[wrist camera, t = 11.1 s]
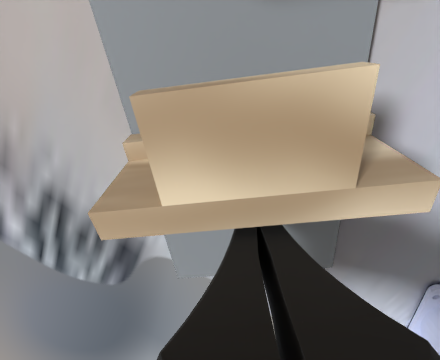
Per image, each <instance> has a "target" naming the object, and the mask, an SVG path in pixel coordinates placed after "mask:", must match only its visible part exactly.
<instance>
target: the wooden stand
mask: <svg viewBox="0 0 440 360" xmlns="http://www.w3.org/2000/svg"><path fill="white" fill-rule="evenodd" d="M379 67H380V64H375V63H368V62H357V63H349V64H341V65H333V66H326V67H318V68H310V69H303V70H295V71H287V72H279V73H272V74H264V75H256V76H249V77H241V78H233V79H225V80H218V81H210V82H202V83H195V84H187V85H179V86H172V87H164V88H156V89H148V90H141V91H138V92H136V93H134V94H132V95H131V96H129V98H130V101H131V105H132V108H133V111H134V114H135V118H136V121H137V124H138V128H139V131H140V134H131V135H130V136H129V137H128V138H127V139H126V140H125V141H124V142H123V143H122V144H123V147H124V150H125V153H126V155H127V158H128V161H129V162H128V163H127V164H126V165H125V167H124V168H123V169H122V170H121V172H120V173H119V174H118V176H117V177H116V178H115V179H114V181H113V182H112V183H111V184H110V186H109V187H108V188H107V189H106V191H105V192H104V193H103V195H102V196H101V197H100V198H99V200H98V201H97V202H96V203H95V205H94V206H93V207H92V209H91V210H90V211H89V212H88V215H89V217H90V219H91V221H92V223H93V225H94V227H95V229H96V231H97V233H98V234H99V236H100V238H101V240H109V239H120V238H132V237H143V236H155V235H167V234H178V233H190V232H202V231H213V230H225V229H236V228H248V227H260V226H271V225H283V224H295V223H306V222H318V221H330V220H341V219H353V218H364V217H376V216H388V215H399V214H411V213H423V212H430V210H431V208H432V205H433V203H434V200H435V198H436V196H437V193H438V191H439V188H440V178H439V177H438V176H436V175H434V174H433V173H431V172H430V171H428V170H426V169H425V168H423V167H422V166H420V165H418V164H417V163H415V162H414V161H412V160H410V159H409V158H407V157H406V156H404V155H402V154H401V153H399V152H398V151H396V150H394V149H393V148H391V147H390V146H388V145H386V144H385V143H383V142H382V141H380V140H378V139H377V138H375V137H374V136H372V135H371V134H372V129H373V124H374V119H375V114H373V113H371V107H372V102H373V97H374V92H375V87H376V82H377V77H378V72H379Z"/></svg>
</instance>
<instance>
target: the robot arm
mask: <svg viewBox="0 0 440 360" xmlns="http://www.w3.org/2000/svg"><path fill="white" fill-rule="evenodd" d="M262 277H263V278H262ZM263 281H264V283H263ZM264 285H265V288H264ZM265 289H266V292H265ZM266 293H267V297H268V301H269V305H270V309H271V314H272V319H273V323H274V329H273V325H272V321H271V316H270V311H269V307H268V302H267V297H266ZM274 331H275V334H274ZM275 337H276V338H275ZM157 360H440V284H436V285H432V286H430V287H429V288H428V289H427V291H426V293H425V295H424V297H423V299H422V301H421V303H420V305H419V307H418V309H417V311H416V313H415V315H414V317H413V319H412V321H411V323H410V325H409V327H408V328H406V327H405V326H403V325H401V324H400V323H398V322H396V321H395V320H393V319H391V318H390V317H388V316H387V315H385V314H384V313H382V312H381V311H379V310H378V309H376V308H375V307H373V306H372V305H370V304H369V303H367V302H366V301H364V300H363V299H362V298H360V297H359V296H358V295H356V294H355V293H354V292H352V291H351V290H350V289H349V288H347V287H346V286H345V285H343V284H342V283H341V282H339V281H338V280H337V279H336V278H334V277H333V276H332V275H331V274H330V273H328V272H327V271H326V270H325V269H324V268H323V267H322V266H320V265H319V264H318V263H317V262H316V261H315V260H314V259H313V258H312V257H311V256H310V255H309V254H308V253H307V252H306V251H305V250H304V249H303V248H302V247H301V246H300V245H299V244H298V243H297V242H296V241H295V240H294V238H293V237H292V236H291V235H290V234H289V233H288V231H287V230H286V229H285V228H284V226H283V225H271V226H260V227H248V228H236V229H234V232H233V235H232V238H231V241H230V244H229V246H228V248H227V251H226V253H225V256H224V258H223V260H222V262H221V264H220V266H219V268H218V270H217V272H216V274H215V276H214V278H213V279H212V281H211V283H210V285H209V286H208V288H207V290H206V291H205V293H204V294H203V296H202V298H201V299H200V301H199V302H198V303H197V305H196V306H195V308H194V309H193V311H192V312H191V314H190V315H189V316H188V318H187V319H186V320H185V322H184V323H183V324H182V326H181V327H180V328H179V330H178V331H177V332H176V333H175V334H174V336H173V337H172V338H171V339H170V341H169V342H168V343H167V344H166V345H165V347H164V348H163V349H162V350H161V352H160V353H159V356H158V358H157Z"/></svg>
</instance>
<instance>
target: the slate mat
mask: <svg viewBox="0 0 440 360" xmlns="http://www.w3.org/2000/svg"><path fill="white" fill-rule="evenodd" d="M89 2H90V5H91V8H92V11H93V14H94V17H95V21H96V24H97V27H98V30H99V33H100V36H101V39H102V42H103V45H104V49H105V52H106V55H107V58H108V61H109V64H110V67H111V70H112V74H113V77H114V80H115V83H116V86H117V89H118V92H119V95H120V98H121V102H122V105H123V108H124V111H125V114H126V117H127V120H128V123H129V126H130V130H131V133H132V134H140V131H139V128H138V124H137V121H136V118H135V114H134V111H133V108H132V105H131V101H130V98H129V96H131V95H132V94H134V93H136V92H138V91H141V90H148V89H156V88H164V87H172V86H179V85H187V84H195V83H202V82H210V81H218V80H225V79H233V78H241V77H249V76H256V75H264V74H272V73H279V72H287V71H295V70H303V69H310V68H318V67H326V66H333V65H341V64H349V63H357V62H368V57H369V52H370V46H371V40H372V34H373V28H374V23H375V17H376V11H377V5H378V0H89ZM283 226H284V228H285V229H286V230H287V231H288V233H289V234H290V235H291V236H292V237H293V238H294V240H295V241H296V242H297V243H298V244H299V245H300V246H301V247H302V248H303V249H304V250H305V251H306V252H307V253H308V254H309V255H310V256H311V257H312V258H313V259H314V260H315V261H316V262H317V263H318V264H319V265H320V266H322V267H323V268H329V267H332V266H333V260H334V255H335V249H336V243H337V237H338V231H339V226H340V220H330V221H318V222H306V223H295V224H283ZM233 232H234V229H225V230H213V231H202V232H190V233H178V234H167V235H165V239H166V242H167V245H168V248H169V251H170V254H171V257H172V260H173V263H174V266H175V270H176V273H177V276H178V278H191V277H205V276H215V274H216V272H217V270H218V268H219V266H220V264H221V262H222V260H223V258H224V256H225V253H226V251H227V248H228V246H229V244H230V241H231V238H232V235H233Z"/></svg>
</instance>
